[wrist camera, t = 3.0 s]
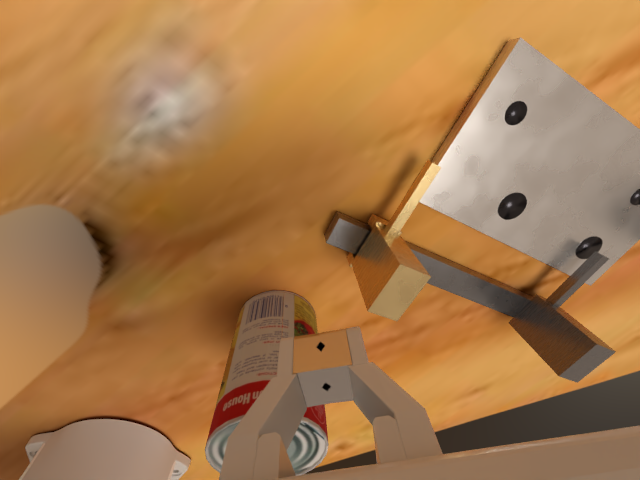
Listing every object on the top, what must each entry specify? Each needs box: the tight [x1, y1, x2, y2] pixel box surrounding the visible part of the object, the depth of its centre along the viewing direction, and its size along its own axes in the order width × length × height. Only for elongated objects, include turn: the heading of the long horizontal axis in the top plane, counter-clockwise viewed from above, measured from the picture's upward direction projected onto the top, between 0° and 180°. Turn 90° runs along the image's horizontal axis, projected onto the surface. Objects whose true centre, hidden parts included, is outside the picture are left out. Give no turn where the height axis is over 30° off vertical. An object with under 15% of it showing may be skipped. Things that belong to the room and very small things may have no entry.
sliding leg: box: [347, 161, 441, 321], centre depth 21 cm, size 10×2×8 cm, turn 154°
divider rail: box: [324, 211, 615, 382], centre depth 23 cm, size 10×26×8 cm, turn 64°
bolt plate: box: [419, 38, 640, 286], centre depth 24 cm, size 12×22×1 cm, turn 64°
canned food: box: [205, 290, 328, 476], centre depth 24 cm, size 8×8×12 cm
